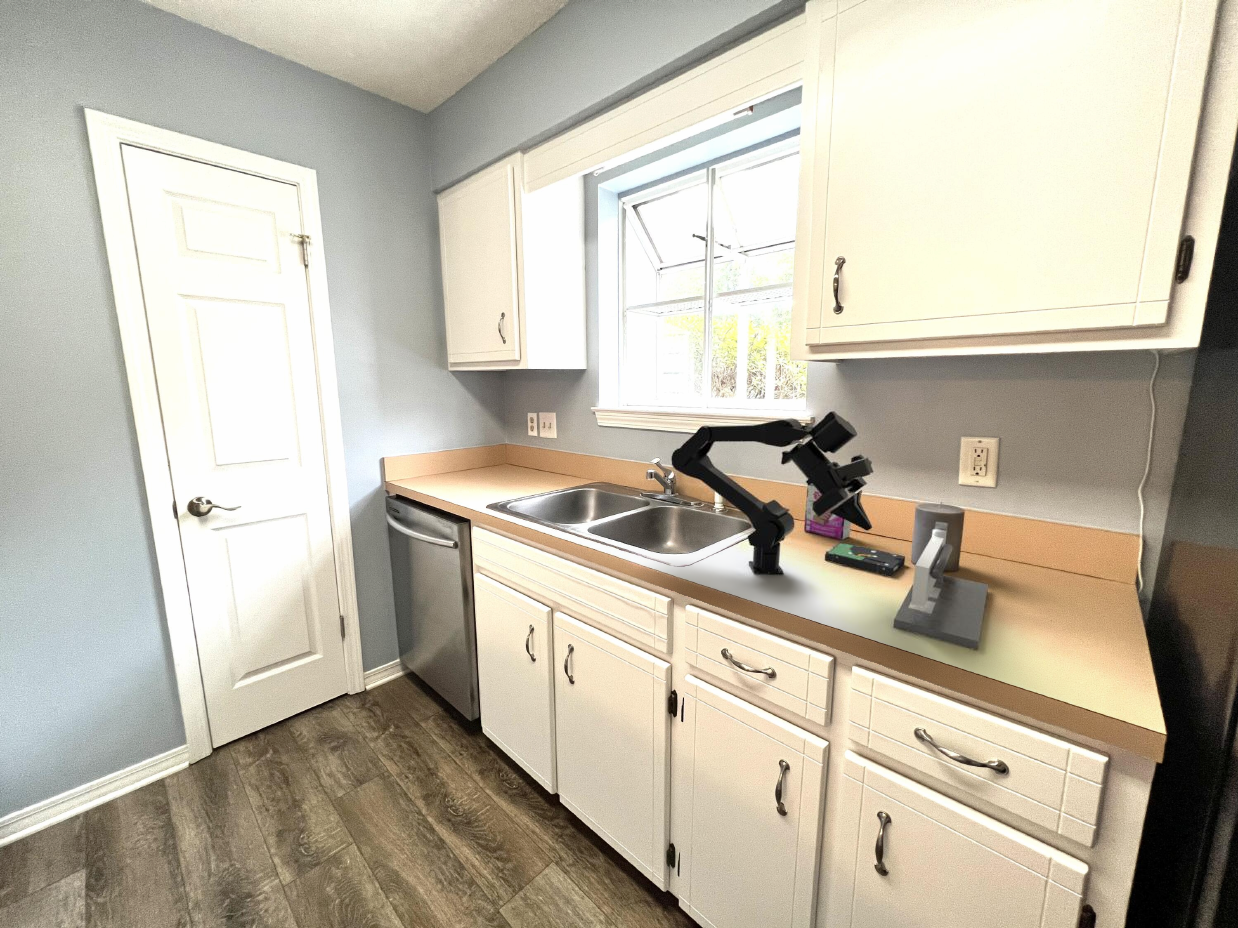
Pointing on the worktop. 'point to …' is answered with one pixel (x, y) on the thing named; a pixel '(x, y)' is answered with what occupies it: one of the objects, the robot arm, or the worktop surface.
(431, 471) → the worktop surface
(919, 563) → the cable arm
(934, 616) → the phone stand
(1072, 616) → the worktop surface
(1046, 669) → the worktop surface
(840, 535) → the candy bar box
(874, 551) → the disk drive
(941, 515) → the pillar candle
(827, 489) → the robot arm
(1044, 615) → the worktop surface
